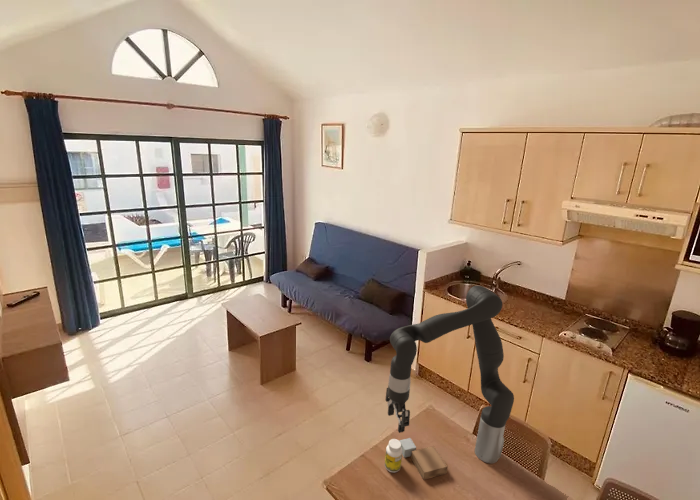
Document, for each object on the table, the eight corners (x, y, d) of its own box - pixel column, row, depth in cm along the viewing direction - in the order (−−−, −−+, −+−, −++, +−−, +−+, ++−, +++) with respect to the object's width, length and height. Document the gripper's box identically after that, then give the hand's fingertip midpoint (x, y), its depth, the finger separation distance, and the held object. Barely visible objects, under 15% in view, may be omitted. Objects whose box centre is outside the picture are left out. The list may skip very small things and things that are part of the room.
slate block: (409, 445, 151) (410, 437, 149) (415, 455, 146) (416, 447, 145) (398, 448, 149) (399, 440, 148) (404, 458, 144) (404, 450, 143)
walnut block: (432, 452, 147) (433, 445, 146) (446, 473, 138) (447, 466, 137) (410, 458, 144) (411, 451, 143) (423, 479, 135) (424, 472, 134)
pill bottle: (381, 462, 141) (383, 440, 138) (394, 457, 144) (397, 435, 141) (390, 475, 136) (392, 452, 133) (403, 469, 139) (406, 446, 136)
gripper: (418, 396, 121) (414, 435, 126) (399, 371, 134) (396, 407, 138) (398, 400, 118) (394, 440, 123) (381, 374, 131) (378, 411, 136)
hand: (395, 422), depth 131 cm, fingers open, 8 cm apart
